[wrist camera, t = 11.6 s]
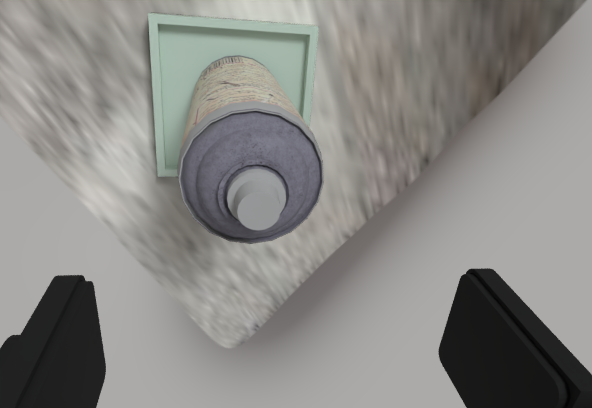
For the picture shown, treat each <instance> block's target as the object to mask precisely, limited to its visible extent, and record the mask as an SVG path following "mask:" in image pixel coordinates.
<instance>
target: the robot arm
mask: <svg viewBox="0 0 592 408" xmlns="http://www.w3.org/2000/svg"><path fill="white" fill-rule="evenodd" d="M439 357H440V361H441V363H442V365H443V367H444V369H445V370H446V372H447V374H448V376H449V377H450V379H451V381H452V383H453V384H454V386H455V388H456V389H457V391H458V393H459V395H460V397H461V398H462V400H463V402H464V404H465V406H466V407H467V408H592V375H591V374H590V372H589V371H588V370H587V369H586V368H585V367H584V366H583V365H582V364H581V363H580V362H579V361H578V360H577V358H576V357H575V356H573V354H572V353H571V352H570V351H569V350H568V349H567V348H566V347H565V346H564V345H563V344H562V342H561V341H560V340H558V338H557V337H556V336H555V335H554V334H553V333H552V332H551V331H550V330H549V328H548V327H547V326H546V325H545V324H544V323H543V322H542V321H541V320H540V319H539V318H538V317H537V316H536V315H535V314H534V312H533V311H532V310H531V309H530V308H529V307H528V306H527V305H526V304H525V303H524V302H523V301H522V300H521V299H520V297H519V296H518V295H517V294H516V293H515V292H514V291H513V290H512V289H511V288H510V287H509V286H508V285H507V284H506V282H505V281H504V280H503V279H502V278H501V277H500V276H499V275H498V274H497V273H496V272H495V271H494V270H493V269H469V270H468V271H467V272H466V274H464V275H462V276H461V278H460V281H459V284H458V288H457V291H456V294H455V297H454V301H453V304H452V307H451V311H450V314H449V317H448V321H447V324H446V327H445V330H444V334H443V337H442V340H441V343H440V347H439ZM105 372H106V364H105V358H104V351H103V344H102V337H101V331H100V324H99V317H98V311H97V305H96V298H95V291H94V285H93V283H92V282H91V281H85V278H84V276H82V275H68V276H67V275H66V276H65V275H64V276H55V277H54V278H53V280H52V282H51V283H50V285H49V287H48V288H47V290H46V292H45V294H44V295H43V297H42V299H41V301H40V302H39V304H38V306H37V308H36V309H35V311H34V313H33V314H32V316H31V318H30V319H29V321H28V323H27V325H26V326H25V328H24V330H23V332H22V333H21V335H12V336H10V337H9V338H8V339H7V340H6V341H5V342H4V344H3V345H2V347H1V348H0V408H96V406H97V403H98V399H99V396H100V393H101V389H102V386H103V383H104V379H105Z"/></svg>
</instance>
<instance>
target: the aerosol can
mask: <svg viewBox="0 0 592 408" xmlns="http://www.w3.org/2000/svg"><path fill="white" fill-rule="evenodd" d="M177 174H178V179H179V184H180V189H181V193H182V198H183V202H184V203H185V205H186V207H187V208H188V210H189V212H190V213H191V215H192V217H193V218H194V219H195V220H196V221H197V222H198V223H199V224H200V225H202V226H203V227H204V228H205V229H206V230H207V231H209V232H210V233H212V234H214V235H216V236H219V237H221V238H223V239H226V240H228V241H232V242H240V243H248V244H253V243H259V242H266V241H272V240H274V239H277V238H279V237H281V236H283V235H286V234H288V233H290V232H292V231H293V230H294V229H295V228H296V227H298V226H299V225H300V224H301V223H303V222H304V221H305V220H306V219H307V218H308V216H309V215H310V213H311V212H312V210H313V209H314V207H315V206H316V204H317V203H318V201H319V197H320V194H321V190H322V187H323V183H324V177H323V161H322V158H321V152H320V149H319V147H318V144H317V142H316V140H315V137H314V135H313V133H312V131H311V130H310V129H309V127H308V126H307V124H306V123H305V121H304V120H303V118H302V117H301V115H300V114H299V112H298V111H297V110H296V108H295V107H294V105H293V104H292V102H291V101H290V99H289V98H288V96H287V95H286V93H285V92H284V91H283V89H282V88H281V86H280V85H279V83H278V82H277V80H276V79H275V78H274V76H273V75H272V74H271V73H270V71H269V70H268V69H267V68H266V67H265V66H264V65H263V64H261V63H259V62H258V61H256V60H254V59H253V58H249V57H245V56H240V55H235V56H225V57H223V58H221V59H218V60H216V61H214V62H212V63H211V64H210V65H209V66H208V67H207V68H206V69H205V70H204V71H203V72H202V73H201V75H200V77H199V79H198V81H197V83H196V85H195V90H194V94H193V98H192V102H191V106H190V111H189V115H188V119H187V123H186V128H185V132H184V136H183V140H182V144H181V149H180V155H179V162H178V169H177Z"/></svg>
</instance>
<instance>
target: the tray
mask: <svg viewBox="0 0 592 408" xmlns="http://www.w3.org/2000/svg"><path fill="white" fill-rule="evenodd" d="M148 22H149V39H150V56H151V73H152V90H153V106H154V123H155V140H156V157H157V174H158V176H165V177H178V174H177V169H178V162H179V155H180V149H181V144H182V140H183V136H184V132H185V128H186V123H187V119H188V115H189V111H190V106H191V102H192V98H193V94H194V90H195V85H196V83H197V81H198V79H199V77H200V75H201V73H202V72H203V71H204V70H205V69H206V68H207V67H208V66H209V65H210V64H211V63H212V62H214V61H216V60H218V59H221V58H223V57H225V56H235V55H240V56H245V57H249V58H253V59H254V60H256V61H258V62H259V63H261V64H263V65H264V66H265V67H266V68H267V69H268V70H269V71H270V73H271V74H272V75H273V76H274V78H275V79H276V80H277V82H278V83H279V85H280V86H281V88H282V89H283V91H284V92H285V93H286V95H287V96H288V98H289V99H290V101H291V102H292V104H293V105H294V107H295V108H296V110H297V111H298V112H299V114H300V115H301V117H302V118H303V120H304V121H305V123H306V124H307V126H308V127H309V125H310V114H311V104H312V93H313V83H314V72H315V61H316V51H317V40H318V30H319V27H318V26H315V25H304V24H291V23H278V22H265V21H252V20H239V19H226V18H214V17H201V16H188V15H175V14H162V13H148Z"/></svg>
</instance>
